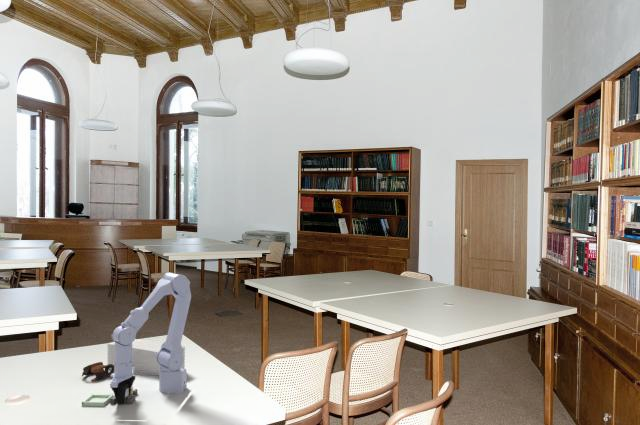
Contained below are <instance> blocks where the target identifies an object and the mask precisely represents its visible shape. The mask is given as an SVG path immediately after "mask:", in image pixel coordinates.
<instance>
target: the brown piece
mask: <svg viewBox="0 0 640 425" xmlns="http://www.w3.org/2000/svg"><path fill="white" fill-rule="evenodd" d="M109 368H112V369H109ZM82 370H83V372H82V374H81V376H82V377H83V376H89V375H94V376H95V377H94V378H92V379H91V380H90V382H100V381H103V380H106V379H108V378H110V377H111V374H113V373H114V365H113V364H106V365H104V363H103V361H99V362H95V363H91V364H88V365H86V366H85V367H83V368H82ZM109 370H110V371H109Z"/></svg>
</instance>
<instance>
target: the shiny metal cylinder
mask: <svg viewBox="0 0 640 425" xmlns="http://www.w3.org/2000/svg"><path fill="white" fill-rule="evenodd" d="M129 397H130V396H129V387H127V389H126V393H125V400H124V403H123V404H122V405H125V404H127V399H128V398H129Z"/></svg>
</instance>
